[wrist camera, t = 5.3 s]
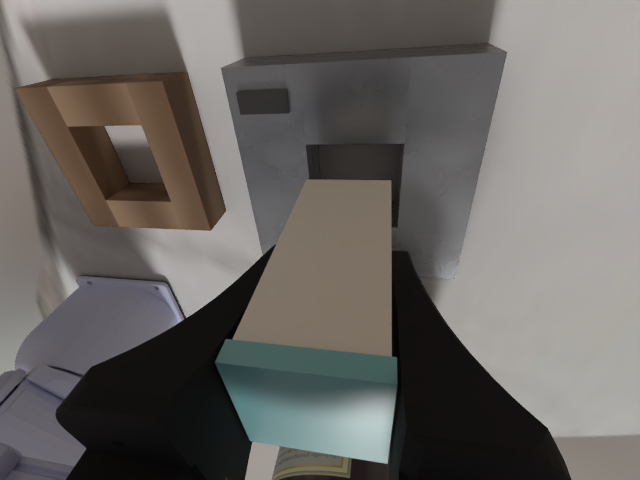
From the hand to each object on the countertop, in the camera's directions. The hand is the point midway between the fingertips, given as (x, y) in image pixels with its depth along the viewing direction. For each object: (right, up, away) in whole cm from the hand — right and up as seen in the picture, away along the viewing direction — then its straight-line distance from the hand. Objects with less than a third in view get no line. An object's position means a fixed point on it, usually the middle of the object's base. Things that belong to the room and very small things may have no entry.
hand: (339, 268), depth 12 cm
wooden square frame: (-12, +7, +9) cm, 17 cm away
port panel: (+2, +6, +7) cm, 10 cm away
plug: (+1, +2, +3) cm, 4 cm away
